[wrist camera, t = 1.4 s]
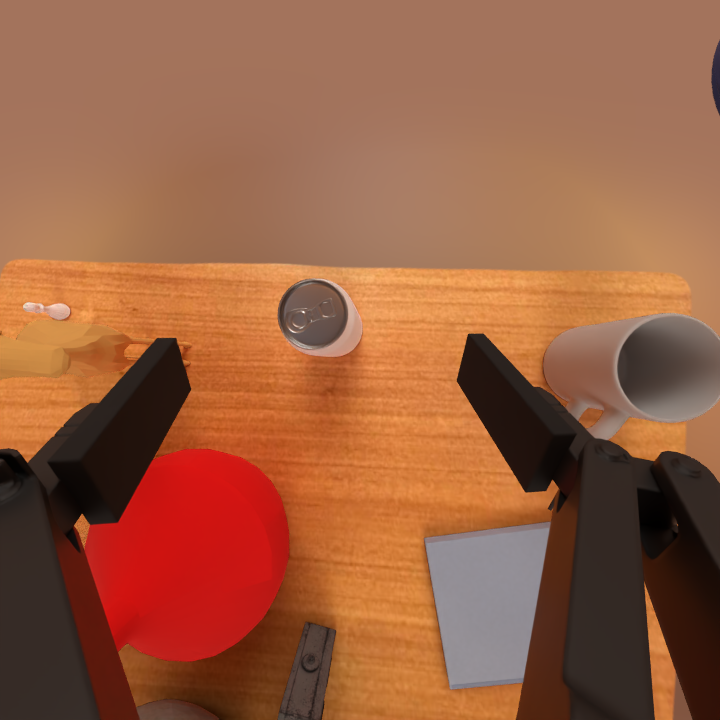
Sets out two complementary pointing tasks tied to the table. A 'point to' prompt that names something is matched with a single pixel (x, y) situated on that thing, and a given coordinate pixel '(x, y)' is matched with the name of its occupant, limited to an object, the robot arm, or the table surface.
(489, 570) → the blue flat rectangular slab
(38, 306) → the chess pawn
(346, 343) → the can
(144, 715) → the bowl
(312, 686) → the camera
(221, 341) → the table surface
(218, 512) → the vase
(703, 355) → the mug
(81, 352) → the giraffe
